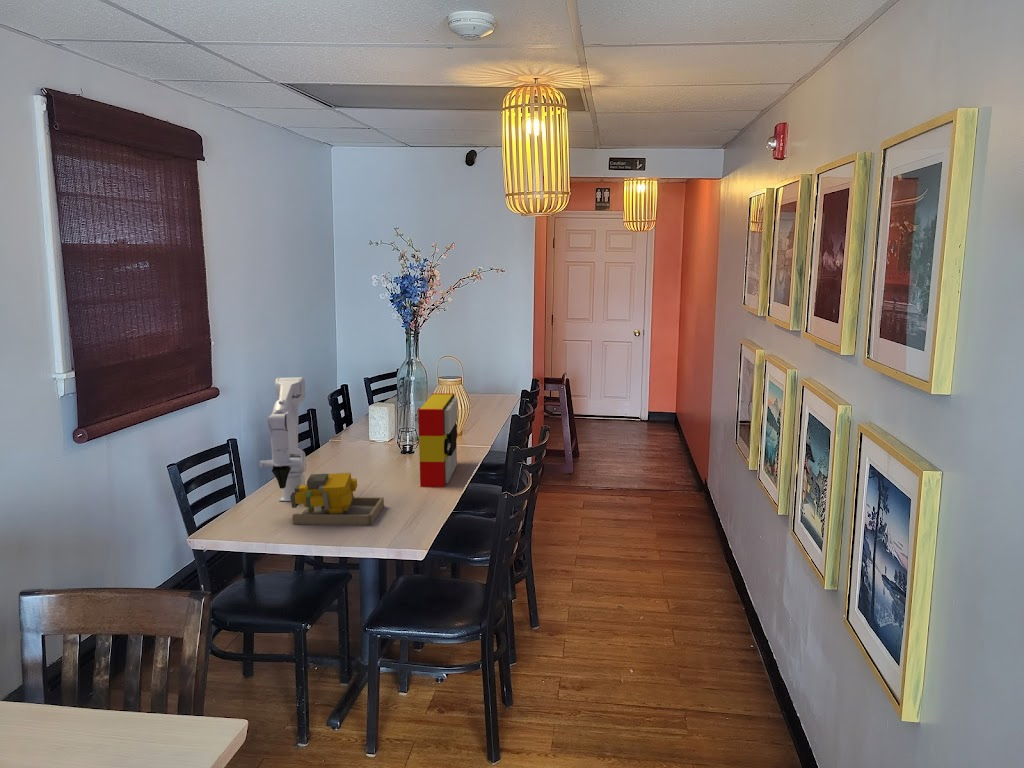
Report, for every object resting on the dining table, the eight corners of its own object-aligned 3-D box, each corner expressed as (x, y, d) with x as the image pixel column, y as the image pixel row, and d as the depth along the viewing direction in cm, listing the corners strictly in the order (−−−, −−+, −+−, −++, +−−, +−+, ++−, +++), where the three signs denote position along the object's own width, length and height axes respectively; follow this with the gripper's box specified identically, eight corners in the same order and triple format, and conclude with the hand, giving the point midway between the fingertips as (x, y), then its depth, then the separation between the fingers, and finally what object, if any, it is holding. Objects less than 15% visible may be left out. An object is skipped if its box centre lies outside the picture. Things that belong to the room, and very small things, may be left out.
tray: (311, 505, 272) (310, 496, 271) (384, 506, 270) (383, 497, 270) (292, 524, 253) (292, 514, 252) (371, 525, 251) (370, 515, 251)
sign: (448, 487, 291) (447, 409, 286) (420, 487, 292) (418, 409, 287) (459, 463, 324) (458, 393, 318) (434, 463, 324) (432, 393, 319)
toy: (291, 523, 255) (352, 520, 255) (286, 488, 251) (347, 484, 252) (301, 504, 269) (359, 500, 269) (296, 470, 265) (355, 466, 265)
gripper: (254, 451, 255) (257, 490, 258) (297, 451, 254) (299, 491, 257) (262, 446, 262) (265, 484, 264) (304, 446, 261) (306, 485, 264)
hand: (282, 487), depth 261 cm, fingers closed
